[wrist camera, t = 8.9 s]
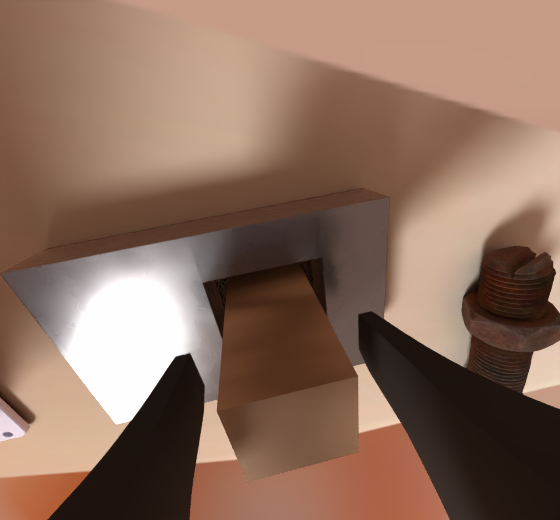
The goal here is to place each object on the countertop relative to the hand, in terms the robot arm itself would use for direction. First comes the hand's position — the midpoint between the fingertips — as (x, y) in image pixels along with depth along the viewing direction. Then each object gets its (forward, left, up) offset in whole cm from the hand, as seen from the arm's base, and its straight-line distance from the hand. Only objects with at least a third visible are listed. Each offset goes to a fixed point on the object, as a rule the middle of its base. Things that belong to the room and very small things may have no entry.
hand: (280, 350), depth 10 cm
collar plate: (-2, 0, -5) cm, 5 cm away
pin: (0, 0, -5) cm, 5 cm away
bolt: (+15, -8, -5) cm, 18 cm away
